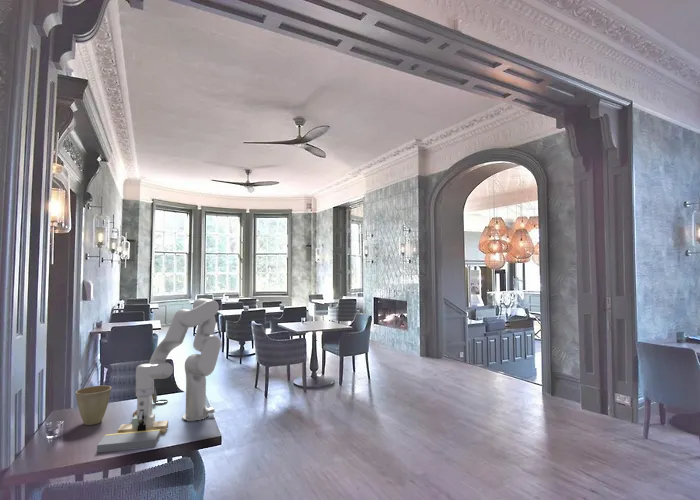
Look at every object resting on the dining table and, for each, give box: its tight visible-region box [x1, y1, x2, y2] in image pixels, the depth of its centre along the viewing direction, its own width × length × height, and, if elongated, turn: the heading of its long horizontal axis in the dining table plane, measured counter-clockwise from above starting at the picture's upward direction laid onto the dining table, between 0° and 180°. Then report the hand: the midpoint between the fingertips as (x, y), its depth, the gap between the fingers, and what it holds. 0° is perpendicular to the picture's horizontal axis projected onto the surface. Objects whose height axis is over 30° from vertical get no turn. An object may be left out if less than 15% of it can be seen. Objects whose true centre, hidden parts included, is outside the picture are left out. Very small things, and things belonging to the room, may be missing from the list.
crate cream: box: [143, 413, 156, 427], centre depth 190 cm, size 4×5×4 cm
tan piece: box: [116, 420, 169, 435], centre depth 189 cm, size 20×7×4 cm, turn 105°
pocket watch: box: [152, 386, 168, 405], centre depth 230 cm, size 8×8×10 cm
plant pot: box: [75, 385, 112, 426], centre depth 202 cm, size 15×15×16 cm
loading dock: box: [96, 429, 161, 453], centre depth 177 cm, size 22×11×3 cm, turn 105°
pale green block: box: [131, 415, 144, 428], centre depth 189 cm, size 4×5×4 cm
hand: (143, 430), depth 189 cm, fingers closed on tan piece, 7 cm apart
